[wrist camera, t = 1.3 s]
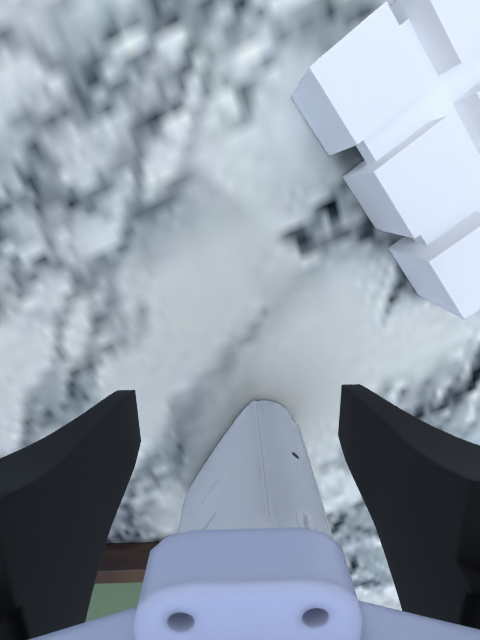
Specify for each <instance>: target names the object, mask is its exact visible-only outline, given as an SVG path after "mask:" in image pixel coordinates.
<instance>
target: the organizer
mask: <svg viewBox="0 0 480 640" xmlns="http://www.w3.org/2000/svg"><path fill="white" fill-rule="evenodd" d="M291 97H292V99H293V101H294V102H295V104H296V105H297V107H298V108H299V110H300V112H301V113H302V115H303V116H304V118H305V119H306V121H307V122H308V124H309V126H310V127H311V129H312V130H313V132H314V133H315V135H316V136H317V138H318V140H319V141H320V143H321V144H322V146H323V147H324V149H325V151H326V152H327V154H328V155H329V156H330V155H333V154H335V153H338V152H340V151H343V150H345V149H348V148H350V147H353V146H355V145H356V147H357V149H358V150H359V152H360V154H361V155H362V157H363V158H364V161H362V162H361V163H360V164H358V165H357V166H356V167H355V168H353V169H352V170H351V171H349V172H348V173H347V174H346V175H344V176H343V179H344V180H345V182H346V183H347V185H348V186H349V188H350V190H351V191H352V193H353V194H354V196H355V197H356V199H357V200H358V202H359V204H360V205H361V207H362V208H363V210H364V211H365V213H366V214H367V216H368V218H369V219H370V221H371V222H372V224H373V225H374V227H375V229H377V230H381V231H385V232H389V233H394V234H398V235H402V236H404V237H402V238H401V239H400V240H398V241H397V242H395V243H394V244H393V245H391V246H390V247H388V249H389V250H390V252H391V253H392V255H393V257H394V258H395V260H396V261H397V263H398V264H399V266H400V268H401V269H402V271H403V272H404V274H405V275H406V277H407V278H408V280H409V282H410V283H411V285H412V286H413V288H414V289H415V291H416V293H417V294H418V295H419V296H421V297H423V298H425V299H427V300H429V301H431V302H433V303H434V304H436V305H438V306H440V307H442V308H444V309H446V310H447V311H449V312H451V313H453V314H455V315H457V316H459V317H460V318H462V319H464V320H465V319H466V318H468V317H469V316H471V315H472V314H474V313H475V312H477V311H478V310H480V0H396V1H395V2H394V3H393V4H392V5H391V7H389V5H388V3H387V1H386V2H385V3H384V4H382V5H381V6H380V7H379V8H378V9H377V10H375V11H374V12H373V13H372V14H371V15H370V16H368V17H367V18H366V19H365V20H364V21H362V22H361V23H360V24H359V25H358V26H357V27H355V28H354V29H353V30H352V31H351V32H350V33H348V34H347V35H346V36H345V37H344V38H343V39H341V40H340V41H339V42H338V43H337V44H335V45H334V46H333V47H332V48H331V49H330V50H328V51H327V52H326V53H325V54H324V55H323V56H321V57H320V58H319V59H318V60H317V61H316V62H314V63H313V64H312V65H311V66H310V67H309V68H308V70H307V71H306V73H305V75H304V76H303V78H302V80H301V81H300V83H299V85H298V86H297V88H296V90H295V91H294V93H293V95H292V96H291Z"/></svg>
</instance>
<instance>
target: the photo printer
mask: <svg viewBox="0 0 480 640" xmlns="http://www.w3.org/2000/svg"><path fill="white" fill-rule="evenodd" d="M290 527H300V528H306V529H311V530H317V531H322V532H325V533H326V534H327V535H329V536H330V537H331V538H332V539H333V536H332V533H331V530H330V526H329V523H328V520H327V517H326V514H325V510H324V507H323V503H322V500H321V497H320V494H319V490H318V487H317V484H316V480H315V477H314V474H313V470H312V467H311V464H310V460H309V457H308V453H307V450H306V447H305V443H304V440H303V436H302V433H301V430H300V427H299V425H298V424H297V423H295V422H294V421H293V419H292V416H291V414H290V413H289V411H288V410H287V409H286V408H285V407H283V406H282V405H280V404H279V403H276V402H273V401H268V400H260V401H258V402H257V401H255V400H253V401H252V402H251V403H250V404H249V405H248V406H247V407H246V408H245V409H244V410H243V411H242V412H241V413H240V415H239V416H238V417H237V418H236V420H235V421H234V422H233V424H232V425H231V427H230V428H229V429H228V431H227V432H226V433H225V435H224V436H223V438H222V439H221V440H220V442H219V443H218V445H217V446H216V448H215V449H214V451H213V452H212V454H211V455H210V456H209V458H208V459H207V461H206V463H205V464H204V466H203V467H202V469H201V470H200V472H199V473H198V475H197V477H196V478H195V480H194V481H193V483H192V485H191V487H190V489H189V491H188V493H187V495H186V498H185V500H184V504H183V508H182V513H181V519H180V525H179V531H178V534H179V533H183V532H187V531H191V530H222V529H256V528H290Z"/></svg>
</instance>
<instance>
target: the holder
mask: <svg viewBox="0 0 480 640" xmlns="http://www.w3.org/2000/svg"><path fill="white" fill-rule="evenodd" d="M158 544H159V543H128V544H105V548H104V551H103V555H102V558H101V562H100V565H99V569H98V573H97V577H96V581H95V584H94V588H93V592H92V596H91V600H90V604H89V608H88V612H87V617H86V621H85V622H88V621H92V620H95V619H98V618H102V617H105V616H108V615H112V614H115V613H118V612H121V611H125V610H128V609H131V608H135V607H137V606H138V602H139V597H140V593H141V589H142V584H143V580H144V576H145V571H146V567H147V563H148V558H149V554H150V551H151V550H152V549H153V548H154V547H155V546H156V545H158Z"/></svg>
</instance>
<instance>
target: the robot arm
mask: <svg viewBox="0 0 480 640" xmlns="http://www.w3.org/2000/svg"><path fill="white" fill-rule="evenodd" d="M338 436H339V440H340V443H341V447H342V450H343V454H344V457H345V460H346V462H347V465H348V467H349V469H350V471H351V474H352V476H353V478H354V480H355V482H356V485H357V487H358V489H359V491H360V493H361V495H362V498H363V500H364V502H365V504H366V506H367V508H368V511H369V513H370V515H371V517H372V520H373V522H374V525H375V527H376V529H377V532H378V535H379V538H380V541H381V544H382V547H383V550H384V553H385V556H386V559H387V562H388V565H389V568H390V572H391V575H392V578H393V581H394V584H395V587H396V591H397V594H398V597H399V601H400V604H401V607H402V611H400V610H395V609H391V608H387V607H383V606H379V605H375V604H370V603H366V602H362V601H358V599H357V596H356V592H355V589H354V586H353V583H352V579H351V576H350V573H349V570H348V566H347V563H346V560H345V557H344V553H343V550H342V547H341V545H340V544H339V543H338V542H336V541H335V540H334V539H332V538H331V537H330V536H329V535H327V534H326V533H325V532H322V531H317V530H311V529H306V528H300V527H290V528H256V529H222V530H191V531H187V532H183V533H179V534H175V535H171V536H167V537H166V538H165V539H163V540H162V541H161V542H160V543H159V544H158V545H156V546H155V547H154V548H153V549H152V550H151V551H150V554H149V558H148V563H147V567H146V571H145V576H144V580H143V584H142V589H141V593H140V597H139V602H138V606H137V607H135V608H131V609H128V610H125V611H121V612H118V613H115V614H112V615H108V616H105V617H102V618H98V619H95V620H92V621H88V622H85V621H86V617H87V612H88V608H89V604H90V600H91V596H92V592H93V588H94V584H95V581H96V577H97V573H98V569H99V565H100V562H101V558H102V555H103V551H104V548H105V544H106V540H107V537H108V534H109V531H110V528H111V526H112V523H113V520H114V518H115V515H116V513H117V510H118V508H119V505H120V503H121V500H122V498H123V495H124V493H125V490H126V488H127V485H128V483H129V480H130V477H131V475H132V472H133V470H134V467H135V463H136V459H137V456H138V451H139V447H140V442H141V437H140V428H139V420H138V411H137V403H136V394H135V390H119V391H116V392H114V393H112V394H111V395H109V396H108V397H106V398H105V399H103V400H102V401H101V402H99V403H98V404H96V405H95V406H93V407H92V408H90V409H89V410H88V411H86V412H85V413H83V414H82V415H80V416H79V417H77V418H76V419H74V420H73V421H71V422H69V423H68V424H66V425H65V426H63V427H61V428H60V429H58V430H57V431H55V432H53V433H52V434H50V435H48V436H46V437H45V438H43V439H41V440H39V441H37V442H35V443H33V444H31V445H29V446H27V447H25V448H23V449H21V450H19V451H16V452H14V453H12V454H9V455H7V456H5V457H2V458H0V640H480V446H479V445H476V444H473V443H470V442H468V441H465V440H463V439H460V438H458V437H455V436H453V435H451V434H448V433H446V432H444V431H442V430H439V429H437V428H435V427H433V426H431V425H429V424H427V423H425V422H423V421H421V420H419V419H417V418H416V417H414V416H412V415H410V414H408V413H407V412H405V411H403V410H401V409H400V408H398V407H396V406H395V405H393V404H391V403H390V402H388V401H387V400H385V399H383V398H382V397H380V396H379V395H377V394H375V393H374V392H372V391H370V390H369V389H367V388H365V387H364V386H362V385H359V384H357V385H342V389H341V403H340V417H339V431H338Z"/></svg>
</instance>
